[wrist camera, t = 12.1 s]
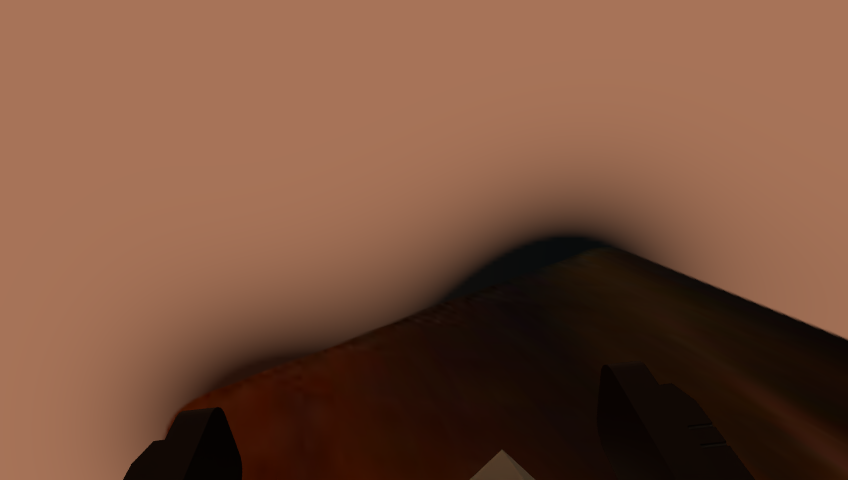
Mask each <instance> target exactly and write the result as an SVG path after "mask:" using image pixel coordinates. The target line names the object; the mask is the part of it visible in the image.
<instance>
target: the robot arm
mask: <svg viewBox="0 0 848 480" xmlns="http://www.w3.org/2000/svg"><path fill="white" fill-rule="evenodd" d="M597 427H598V433H599V437H600V440H601V443H602V446H603V449H604V451H605V453H606V455H607V457H608V459H609V461H610V464H611V466H612V468H613V470H614V472H615V474H616V476H617V478H618V480H755V479H754V478H753V476H752V475H751V474H750V472H749V471H748V470H747V468H746V467H745V466H744V464H743V463H742V462H741V460H740V459H739V458H738V456H737V455H736V454H735V452H734V451H733V450H732V448H731V447H730V446H727V444H726V440H725V439H724V438H723V436H722V435H721V434H720V432H719V431H718V430H717V428H716V427H713V425H712V422H711V420H710V419H709V418H708V416H707V415H706V414H705V412H704V411H703V410H702V408H701V407H700V406H699V404H698V403H697V402H696V401H695V400H694V399H693V398H691V397H690V396H688V395H687V394H686V393H684V392H683V391H682V390H680V389H679V388H677V387H676V386H675V385H673V384H672V383H671V384H663V385H659V384H658V383H657V381H656V380H655V378H654V377H653V375H652V374H651V373H650V371H649V370H648V368H647V367H646V365H645V364H644V363H643V362H641V361H634V362H625V363H616V364H607V365H604V366H603V367H602V369H601V376H600V387H599V398H598V409H597ZM123 480H242V462H241V457H240V454H239V451H238V449H237V446H236V443H235V440H234V438H233V435H232V432H231V430H230V427H229V424H228V421H227V419H226V416H225V414H224V411H223V410H222V409H221V408H219V407H216V408H207V409H198V410H189V411H182V412H180V413H179V414H178V415H177V417H176V418H175V420H174V422H173V424H172V426H171V428H170V430H169V432H168V434H167V436H166V438H165V440H159V441H153V442H152V443H151V445H149V447H148V448H147V449H146V450H145V451H144V452H143V453H142V454H141V455H140V456H139V457H138V458H137V459H136V460H135V461H134V462H133V463H132V464H131V466H130V468H129V470H128V471H127V473H126V475H125V477H124V479H123Z"/></svg>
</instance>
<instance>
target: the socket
mask: <svg viewBox="0 0 848 480" xmlns="http://www.w3.org/2000/svg"><path fill="white" fill-rule="evenodd" d="M470 480H535V479H534V478H533V477H532V476H531V475H529V474H528V473H527V472H526V471H525V470H524V469H523V468H522V467H521V466H520V465H519V464H517V463H516V462H515V461H514V460H513V459H512V458H511V457H510V456H509V455H508V454H507V453H505V452H504V451H503V450H501V451H500V452H499V453H498V454H497V455H496V456H495V457H494V458H493V459H491V460H490V461H489V462H488V463H487V464H486V465H485V466H484V467H483V468H482V469H481V470H480V471H479V472H478V473H476V474H475V475H474V476H473V477H472V478H471V479H470Z"/></svg>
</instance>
